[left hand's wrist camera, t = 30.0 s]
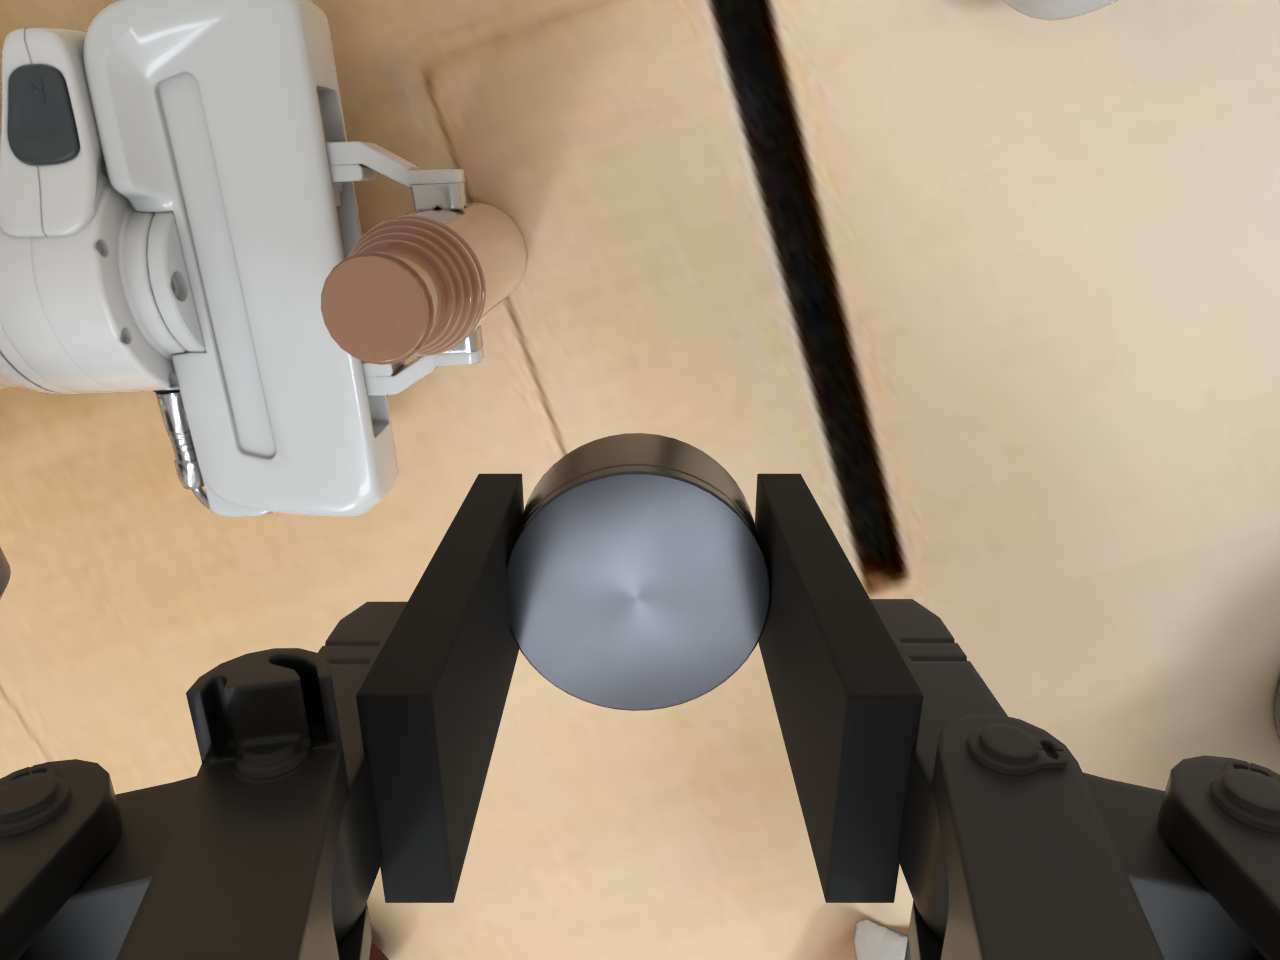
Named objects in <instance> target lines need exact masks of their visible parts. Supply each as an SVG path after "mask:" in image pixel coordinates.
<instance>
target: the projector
mask: <svg viewBox="0 0 1280 960" xmlns="http://www.w3.org/2000/svg"><path fill="white" fill-rule="evenodd" d="M1003 1H1005V2H1006V3H1007V4H1008V5H1009V6H1011V7H1012V8H1014V9H1015V10H1017V11H1018V12H1020V13H1023V14H1025V15H1027V16H1029V17H1032V18H1037V19H1042V20H1061V19H1068V18H1072V17H1076V16H1079V15H1083V14H1086V13H1089V12H1092V11H1095V10H1097V9H1100V8H1102V7H1104V6H1107V5H1109V4H1111V3H1114V2H1116V1H1118V0H1003Z"/></svg>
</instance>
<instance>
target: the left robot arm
mask: <svg viewBox="0 0 1280 960" xmlns="http://www.w3.org/2000/svg"><path fill="white" fill-rule="evenodd" d="M523 513H524V504H523V485H522V474H479V475H478V477H477V478H476V480H475V482H474V484H473V486H472V487H471V489H470V491H469V493H468V495H467V496H466V498H465V500H464V502H463V504H462V505H461V507H460V509H459V511H458V513H457V514H456V516H455V518H454V520H453V522H452V523H451V525H450V527H449V529H448V531H447V532H446V534H445V536H444V538H443V540H442V541H441V543H440V545H439V547H438V549H437V550H436V552H435V554H434V556H433V558H432V559H431V561H430V563H429V565H428V567H427V568H426V570H425V572H424V574H423V576H422V577H421V579H420V581H419V583H418V585H417V586H416V588H415V590H414V592H413V594H412V595H411V597H410V599H409V601H408V602H366V603H365V604H364V605H362V606H361V607H359V608H358V609H356V610H355V611H353V612H352V613H350V614H349V615H347V616H346V617H344V618H343V619H341V620H340V621H339V623H338V624H337V626H336V627H335V629H334V630H333V632H332V633H331V635H330V636H329V637H328V639H327V640H326V644H325V646H322V648H321V649H320V651H319V652H318V653H315V652H311V651H307V650H303V649H299V648H278V649H269V650H264V651H259V652H254V653H249V654H245V655H243V656H240V657H238V658H235V659H232V660H230V661H227V662H225V663H222V664H220V665H218V666H217V667H215V668H214V669H212V670H210V671H209V672H207V673H206V674H204V675H203V676H201V677H199V679H198V680H197V681H196V682H195V683H194V684H193V685H192V687H191V688H190V689H189V690H188V691H187V692H186V695H187V699H188V704H189V708H190V712H191V717H192V721H193V725H194V730H195V734H196V738H197V743H198V747H199V751H200V756H201V760H202V765H201V767H200V770H199V772H198V774H197V776H195V777H191V778H188V779H184V780H181V781H177V782H173V783H168V784H164V785H159V786H154V787H150V788H145V789H140V790H136V791H131V792H126V793H121V794H117V795H115V793H114V789H113V786H112V782H111V779H110V775H109V773H108V772H107V771H106V770H104V769H103V768H102V767H101V766H100V765H99V764H98V763H93V762H88V761H82V760H77V759H74V760H65V761H55V762H47V763H43V764H39V765H34V766H33V767H30V768H29V767H27V768H24V769H21V770H18V771H15V772H13V773H11V774H9V775H8V776H5V777H3V778H1V779H0V960H369V957H370V948H371V939H372V935H371V927H370V920H369V913H368V907H367V900H368V897H369V894H370V892H371V889H372V887H373V884H374V881H375V879H376V876H377V873H378V871H379V868H380V867H381V874H382V881H383V888H384V895H385V902H386V903H454V899H455V895H456V891H457V887H458V883H459V879H460V876H461V872H462V868H463V864H464V860H465V856H466V852H467V849H468V845H469V841H470V837H471V833H472V829H473V825H474V822H475V818H476V814H477V810H478V806H479V802H480V798H481V795H482V791H483V787H484V783H485V779H486V775H487V771H488V767H489V764H490V760H491V756H492V752H493V748H494V744H495V740H496V737H497V733H498V729H499V725H500V721H501V717H502V713H503V710H504V706H505V702H506V698H507V694H508V690H509V686H510V682H511V679H512V675H513V671H514V667H515V663H516V659H517V655H518V652H519V647H518V645H517V643H516V642H515V640H514V638H513V636H512V633H511V631H510V625H509V610H508V595H507V579H506V561H507V558H508V555H509V552H510V549H511V547H512V544H513V541H514V538H515V535H516V532H517V530H518V527H519V524H520V521H521V518H522V516H523ZM755 526H756V529H757V532H758V535H759V538H760V541H761V544H762V547H763V550H764V553H765V556H766V560H767V563H768V567H769V571H770V580H771V603H770V609H769V614H768V619H767V622H766V625H765V628H764V631H763V633H762V635H761V637H760V639H759V641H758V642H759V646H760V650H761V654H762V657H763V661H764V665H765V669H766V673H767V677H768V681H769V685H770V688H771V692H772V696H773V700H774V704H775V708H776V712H777V715H778V719H779V723H780V727H781V731H782V735H783V739H784V742H785V746H786V750H787V754H788V758H789V762H790V766H791V770H792V773H793V777H794V781H795V785H796V789H797V793H798V797H799V800H800V804H801V808H802V812H803V816H804V820H805V824H806V827H807V831H808V835H809V839H810V843H811V847H812V851H813V855H814V858H815V862H816V866H817V870H818V874H819V878H820V882H821V885H822V889H823V893H824V897H825V901H826V903H894V898H895V891H896V884H897V877H898V870H899V863H900V866H901V868H902V871H903V873H904V876H905V879H906V881H907V884H908V887H909V889H910V892H911V894H912V897H913V907H912V913H911V920H910V926H909V932H908V939H907V945H906V952H905V958H904V960H1280V775H1279V774H1277V773H1275V772H1273V771H1271V770H1269V769H1267V768H1265V767H1262V766H1259V765H1256V764H1253V763H1251V764H1250V763H1247V762H1246V761H1241V760H1236V759H1233V758H1223V757H1213V756H1200V757H1194V758H1189V759H1183V760H1182V761H1181V762H1180V763H1179V764H1177V765H1176V766H1175V767H1174V768H1173V769H1172V770H1171V773H1170V776H1169V780H1168V783H1167V787H1166V791H1161V790H1156V789H1152V788H1147V787H1142V786H1137V785H1133V784H1128V783H1123V782H1118V781H1114V780H1109V779H1105V778H1101V777H1097V776H1094V775H1090V774H1087V773H1083V772H1082V770H1081V768H1080V766H1079V764H1078V762H1077V760H1076V759H1075V758H1074V756H1073V755H1072V754H1071V752H1070V751H1069V750H1068V748H1067V747H1066V746H1065V745H1064V744H1063V743H1061V742H1060V741H1059V740H1057V739H1056V738H1055V737H1053V736H1052V735H1050V734H1049V733H1048V732H1046V731H1045V730H1043V729H1040V728H1038V727H1036V726H1034V725H1031V724H1029V723H1027V722H1025V721H1022V720H1020V719H1016V718H1011V717H1008V716H1007V714H1006V713H1005V711H1004V710H1003V709H1002V707H1001V706H1000V704H999V703H998V701H997V700H996V698H995V697H994V696H993V694H992V693H991V691H990V690H989V688H988V687H987V685H986V684H985V683H984V681H983V680H982V678H981V677H980V675H979V674H978V672H977V671H976V670H975V668H974V667H973V665H972V664H971V662H970V661H967V657H966V655H965V654H964V652H963V651H962V649H961V648H960V646H959V645H958V644H957V643H954V638H953V636H952V635H951V633H950V632H949V631H948V629H947V628H946V626H945V625H944V623H943V622H942V620H941V619H940V618H939V617H938V616H936V615H935V614H933V613H932V612H930V611H929V610H928V609H926V608H925V607H923V606H922V605H920V604H919V603H917V602H916V601H914V600H913V599H870V598H869V596H868V595H867V593H866V591H865V589H864V587H863V586H862V584H861V582H860V580H859V578H858V577H857V575H856V573H855V571H854V569H853V568H852V566H851V564H850V562H849V560H848V559H847V557H846V555H845V553H844V551H843V550H842V548H841V546H840V544H839V542H838V541H837V539H836V537H835V535H834V533H833V532H832V530H831V528H830V526H829V524H828V523H827V521H826V519H825V517H824V515H823V514H822V512H821V510H820V508H819V506H818V505H817V503H816V501H815V499H814V497H813V496H812V494H811V492H810V490H809V488H808V487H807V485H806V483H805V481H804V479H803V478H802V476H801V474H758V475H757V494H756V513H755ZM1275 722H1276V727H1277V731H1278V734H1279V737H1280V682H1279V685H1278V689H1277V693H1276V699H1275Z"/></svg>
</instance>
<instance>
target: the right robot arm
mask: <svg viewBox="0 0 1280 960" xmlns="http://www.w3.org/2000/svg"><path fill="white" fill-rule="evenodd" d="M1 66H2V112H1V140H0V390H1V389H4V388H8V387H22V388H27V389H30V390H34V391H38V392H43V393H50V394H85V393H109V392H137V391H154V392H156V395H157V399H158V403H159V407H160V411H161V415H162V418H163V422H164V425H165V428H166V431H167V432H168V436H169V438H170V441H171V443H172V446H173V449H174V453H175V458H176V459H175V467H176V472H177V475H178V478H179V480H180V482H181V484H182V486H183V487H184V488H185V489H192V491H193V493H194V494H195V496H196V497H197V499H198V500H199V501H200V502H201V503H202V504H203V505H204V506H206V507H207V508H208V509H210V510H211V511H212V512H213V513H214V514H217V515H219V516H224V517H242V516H259V515H265V514H269V513H272V512H280V513H289V514H301V515H317V516H357V515H362V514H365V513H366V512H368V511H370V510H371V509H372V508H374V507H375V506H376V505H377V504H378V503H379V502H380V501H381V500H382V499H383V498H384V497H385V495H386V494H387V493H388V492H389V490H390V489H391V487H392V486H393V484H394V483H395V481H396V479H397V477H398V474H399V469H398V462H397V456H396V450H395V443H394V437H393V430H392V424H391V417H390V411H389V405H388V398H387V395H397V394H398V393H400V392H401V391H403V390H404V389H406V388H407V387H409V386H410V385H412V384H413V383H415V382H417V381H418V380H420V379H421V378H423V377H424V376H426V375H427V374H429V373H430V372H432V371H433V370H435V369H436V368H437V367H438V366H451V365H471V364H476V363H479V362H481V360H482V359H483V358H484V351H483V342H482V334H481V326H480V325H479V326H478V327H477V329H476V330H475V331H474V332H473V333H472V334H471V335H470V336H469V337H468V338H467V339H466V340H465V341H463V342H462V343H461V344H459V345H458V346H456V347H455V348H453V349H451V350H449V351H446V352H443V353H440V354H436V355H432V356H426V357H418V358H417V359H415V360H414V361H412V362H410V363H409V364H407V365H404V363H405V362H406V360H403V361H400V362H398V363H395V364H386V365H378V364H371V363H366V362H364V361H362V360H359V359H357V358H354V357H352V356H351V355H350V354H349V353H347V352H346V351H344V350H343V349H341V348H340V346H339V345H338V344H337V343H336V342H335V340H334V339H333V338H332V337H331V335H330V333H329V331H328V329H327V327H326V326H325V324H324V320H323V316H322V312H321V293H322V289H323V286H324V283H325V279H326V278H327V277H328V275H329V274H330V272H331V271H332V269H333V268H334V267H335V266H336V265H337V264H339V263H340V262H341V261H342V260H344V259H345V258H347V257H349V254H350V252H351V250H352V249H353V247H354V245H355V244H356V243H357V241H358V240H359V239H360V238H361V237H362V231H361V225H360V219H359V212H358V206H357V200H356V193H355V187H354V181H371V180H377V179H378V178H379V175H378V172H379V173H381V174H383V175H385V176H387V177H389V178H391V179H393V180H395V181H397V182H398V183H400V184H402V185H404V186H406V187H408V188H410V189H412V194H413V200H414V207H415V211H428V210H434V209H439V208H442V209H447V210H452V209H464V208H467V199H466V188H465V183H463V182H465V177H464V170H463V169H437V170H420V167H418V166H416V165H414V164H412V163H411V162H409V161H407V160H405V159H403V158H401V157H399V156H398V155H396V154H394V153H392V152H390V151H388V150H386V149H385V148H383V147H381V146H379V145H377V144H375V143H370V142H361V141H350V142H347V136H346V129H345V123H344V116H343V110H342V104H341V97H340V91H339V84H338V78H337V72H336V65H335V59H334V53H333V46H332V39H331V33H330V27H329V22H328V19H327V16H326V15H325V13H324V12H323V11H322V10H321V9H320V8H319V7H318V6H316V5H315V4H314V3H313V2H312V1H311V0H118V1H115V2H114V3H112V4H110V5H108V6H107V7H105V8H104V9H103V10H101V11H100V12H99V13H98V14H97V15H96V16H95V18H94V19H93V21H92V22H91V24H90V25H89V28H88V30H87V32H84V31H79V30H71V29H62V28H43V27H29V28H20V29H16V30H13V31H11V32H10V33H9V34H8V35H7V36H6V38H5V41H4V44H3V48H2V65H1ZM203 486H204V487H205V491H206V493H205V492H204V490H203V488H202V487H203ZM9 579H10V566H9V564H8V562H7V560H6V558H5V556H4V554H3V552H2V550H1V548H0V599H1V597H2V595H3V593H4V590H5V588H6V586H7V584H8V582H9Z"/></svg>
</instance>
